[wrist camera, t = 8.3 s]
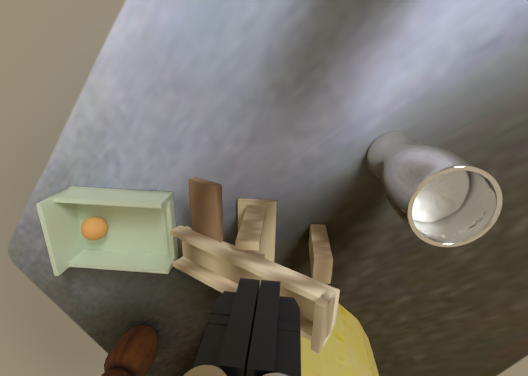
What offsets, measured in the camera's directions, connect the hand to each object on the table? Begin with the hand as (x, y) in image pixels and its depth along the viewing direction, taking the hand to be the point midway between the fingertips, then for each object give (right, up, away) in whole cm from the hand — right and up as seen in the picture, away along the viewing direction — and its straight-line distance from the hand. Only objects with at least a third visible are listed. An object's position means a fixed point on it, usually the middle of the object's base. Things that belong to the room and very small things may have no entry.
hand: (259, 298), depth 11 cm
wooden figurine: (-19, -19, +39) cm, 47 cm away
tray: (-19, -1, +32) cm, 37 cm away
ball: (-22, -1, +30) cm, 37 cm away
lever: (-1, -2, +21) cm, 21 cm away
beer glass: (+15, +8, +25) cm, 31 cm away
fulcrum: (+2, -2, +30) cm, 30 cm away
